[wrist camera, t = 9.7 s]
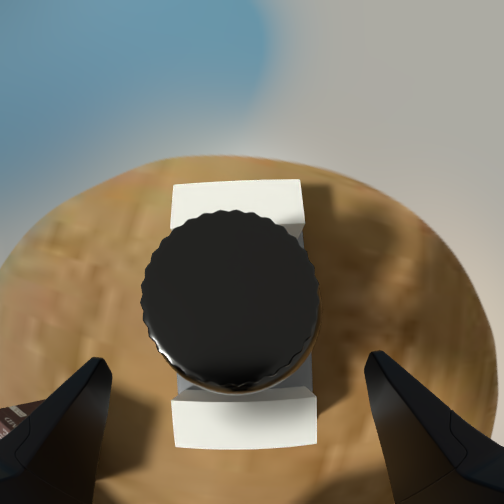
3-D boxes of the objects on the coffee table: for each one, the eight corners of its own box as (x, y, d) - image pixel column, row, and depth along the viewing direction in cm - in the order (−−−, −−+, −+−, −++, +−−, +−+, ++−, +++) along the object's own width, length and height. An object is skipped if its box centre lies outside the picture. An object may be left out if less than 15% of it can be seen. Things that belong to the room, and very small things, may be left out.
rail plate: (311, 422, 17) (325, 442, 13) (182, 426, 17) (167, 446, 13) (298, 206, 22) (307, 179, 18) (180, 211, 21) (166, 185, 18)
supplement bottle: (245, 390, 17) (236, 472, 6) (169, 322, 19) (63, 300, 7) (313, 313, 19) (399, 279, 7) (236, 248, 20) (218, 138, 8)
